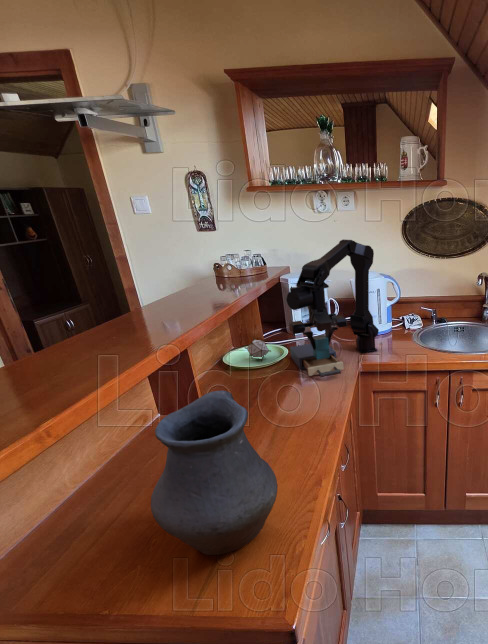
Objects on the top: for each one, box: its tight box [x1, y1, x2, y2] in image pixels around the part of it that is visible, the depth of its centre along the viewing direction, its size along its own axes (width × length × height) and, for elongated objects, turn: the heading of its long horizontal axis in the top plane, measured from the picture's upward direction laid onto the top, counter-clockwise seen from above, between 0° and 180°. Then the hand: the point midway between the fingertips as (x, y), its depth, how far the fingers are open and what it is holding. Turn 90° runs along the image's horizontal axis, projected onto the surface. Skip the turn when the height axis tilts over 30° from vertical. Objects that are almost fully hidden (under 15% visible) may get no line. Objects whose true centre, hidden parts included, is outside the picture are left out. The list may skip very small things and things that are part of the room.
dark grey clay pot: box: [150, 389, 279, 556], centre depth 72 cm, size 21×22×25 cm
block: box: [313, 334, 330, 360], centre depth 144 cm, size 4×4×7 cm
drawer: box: [302, 355, 345, 378], centre depth 146 cm, size 17×12×3 cm
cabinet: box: [289, 343, 337, 370], centre depth 156 cm, size 14×14×4 cm
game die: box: [244, 337, 272, 362], centre depth 158 cm, size 9×8×10 cm
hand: (320, 348), depth 144 cm, fingers closed on block, 4 cm apart
